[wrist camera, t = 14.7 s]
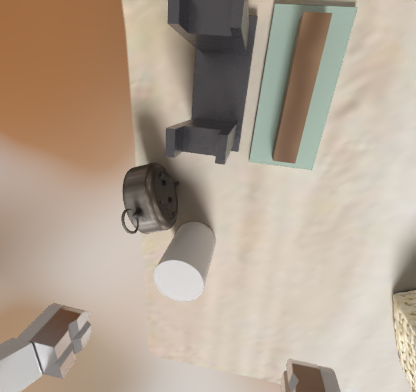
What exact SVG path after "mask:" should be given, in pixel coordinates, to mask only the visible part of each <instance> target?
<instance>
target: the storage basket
mask: <svg viewBox="0 0 416 392" xmlns="http://www.w3.org/2000/svg"><path fill="white" fill-rule="evenodd" d="M393 300H394V301H393V304H394V306H393V309H394V318H395V323H394V327H395V330H396V333H395V334H396V340H397V341H398V342H397V347H398V350H399V355H400V364H401V366H402V369H403V371H404V373H405V375H406V378H407V379H408V380H409V386H410V388H411V390H412V392H416V290H412V291H408V292H400V293H396V294H394V295H393Z"/></svg>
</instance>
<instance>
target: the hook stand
mask: <svg viewBox="0 0 416 392" xmlns="http://www.w3.org/2000/svg"><path fill="white" fill-rule="evenodd" d="M168 24H169V25H170V26H171V27H172V28H174V29H175V30H176V31H177V32H178V33H179V34H181V35H182V36H183V37H184V38H185V39H186V40H188V41H189V42H190V43H191V44H192V45H193V46H195V47H196V56H195V72H194V89H193V106H192V119H191V120H188V121H185V122H182V123H179V124H177V125H174V126H171V127H168V128H166V156H167V157H176V156H177V155H178V154H180V153H181V152H190V153H198V154H205V155H213V156H216V160H215V163H217V164H225V162H226V160H227V158H228V156H229V153H230V151H236V152H238V151H239V144H240V137H241V130H242V123H243V116H244V109H245V102H246V95H247V88H248V81H249V74H250V67H251V60H252V53H253V46H254V39H255V32H256V25H257V16H249V10H248V0H168Z"/></svg>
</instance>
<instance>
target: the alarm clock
mask: <svg viewBox="0 0 416 392" xmlns="http://www.w3.org/2000/svg"><path fill="white" fill-rule="evenodd" d="M179 184H180V183H179V182H177V183H175V184H173V181H172V179H171V177H170V175H169V173H168V172H167V171H166V169H165V168H164V167H163V166H161V165H159V164H157V163H151V164H146V165H142V166H138V167H134V168H131V169H130V170H129V171H128V172H127V173H126V175H125V178H124V183H123V201H124V205H125V209H126V210H124V212H123V214H122V225H123V227H124V229H125V230H126V231H127V232H128V233H130V234H134V233H136V232H137V230H139V231H140V232H142V233H145V234H149V233H152V232H158V231H164V230H168V229H170V228H171V227H172V226H173V225H174V223H175V221H176V218H177V214H178V201H177V195H176V190H175V188H176V187H177V186H179ZM126 212H127V215H128V217H129V219H130V221H131V222H132V224H133V225H134V227H135V228H136V230H135V231H129V230H128V229H127V227H126V226H125V222H124V216H125V213H126Z"/></svg>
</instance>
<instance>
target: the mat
mask: <svg viewBox="0 0 416 392" xmlns="http://www.w3.org/2000/svg"><path fill="white" fill-rule="evenodd" d="M357 8H358V7H339V6H316V5H294V4H275V7H274V13H273V19H272V25H271V31H270V37H269V43H268V49H267V55H266V61H265V68H264V74H263V80H262V86H261V92H260V98H259V104H258V110H257V116H256V122H255V129H254V135H253V141H252V147H251V153H250V159H249V162H254V163H262V164H269V165H277V166H284V167H292V168H299V169H307V170H312V169H313V165H314V162H315V158H316V155H317V151H318V148H319V144H320V140H321V137H322V133H323V130H324V126H325V122H326V119H327V115H328V112H329V108H330V104H331V101H332V97H333V94H334V90H335V87H336V83H337V79H338V76H339V72H340V69H341V65H342V61H343V58H344V54H345V51H346V47H347V44H348V40H349V36H350V33H351V29H352V26H353V22H354V18H355V15H356V11H357ZM303 12H323V13H332V17H331V21H330V25H329V29H328V33H327V37H326V41H325V45H324V50H323V54H322V58H321V62H320V66H319V70H318V74H317V78H316V82H315V86H314V90H313V94H312V98H311V102H310V106H309V110H308V114H307V118H306V122H305V126H304V131H303V135H302V139H301V143H300V147H299V151H298V155H297V159H296V163H295V164H293V163H286V162H278V161H273V159H272V152H273V147H274V142H275V137H276V132H277V127H278V122H279V117H280V112H281V107H282V102H283V97H284V92H285V88H286V83H287V78H288V73H289V68H290V63H291V58H292V53H293V48H294V43H295V38H296V33H297V28H298V23H299V19H300V18H301V16H302V14H303Z"/></svg>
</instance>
